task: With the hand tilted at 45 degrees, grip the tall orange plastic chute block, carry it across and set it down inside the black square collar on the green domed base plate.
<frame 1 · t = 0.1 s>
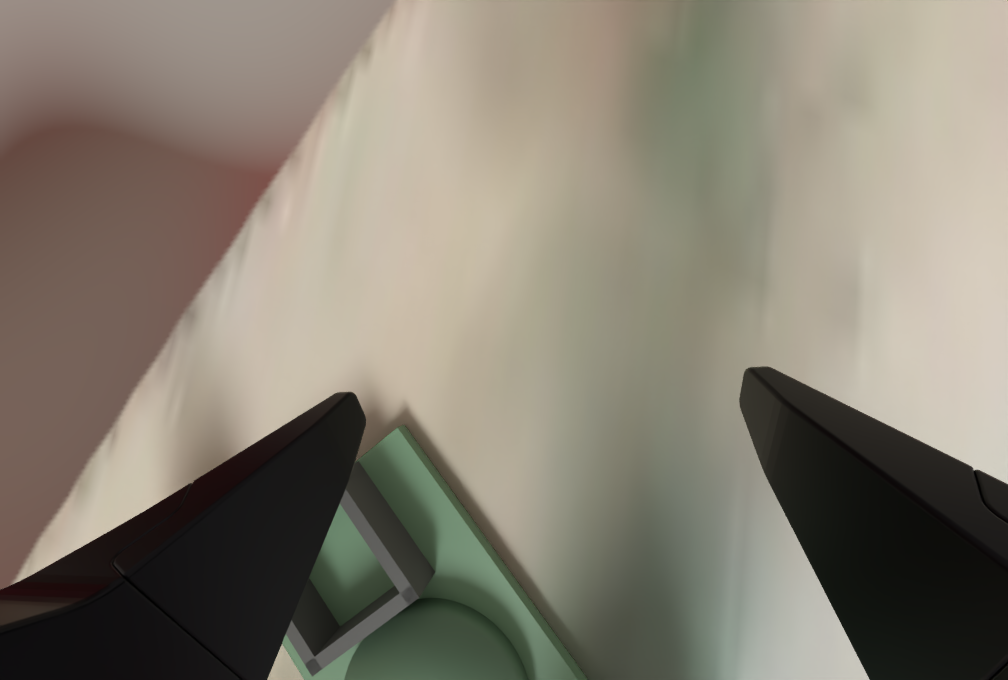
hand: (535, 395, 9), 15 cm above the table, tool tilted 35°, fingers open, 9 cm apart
green domed base plate: (408, 622, 25), on the table
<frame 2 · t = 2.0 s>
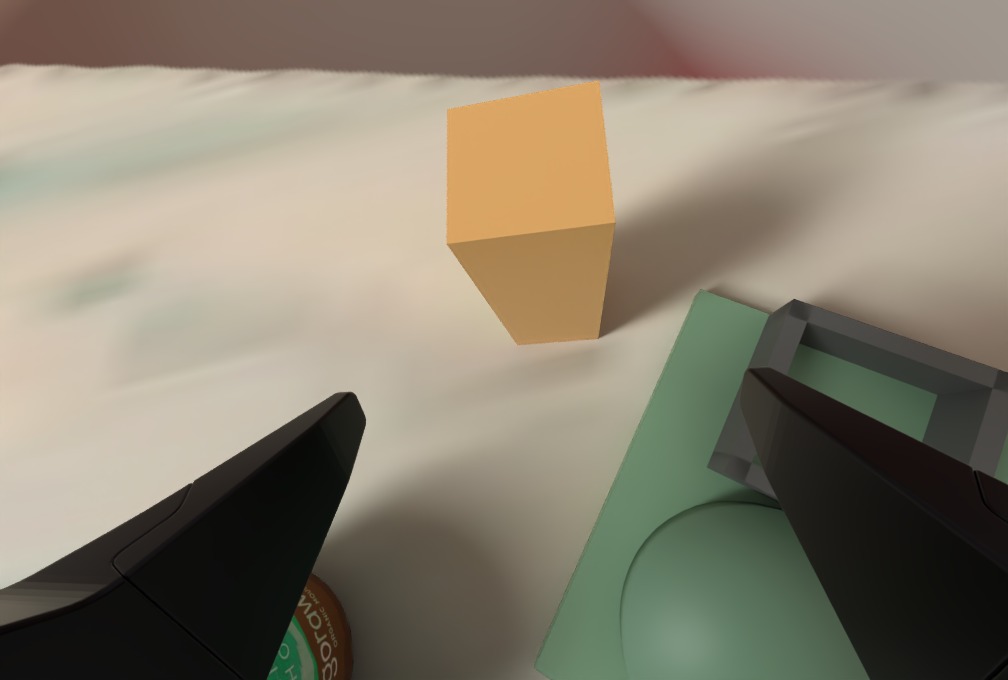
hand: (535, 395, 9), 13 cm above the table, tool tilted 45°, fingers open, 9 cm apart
food container: (313, 620, 22), on the table
green domed base plate: (776, 543, 18), on the table
chute block: (554, 303, 23), on the table
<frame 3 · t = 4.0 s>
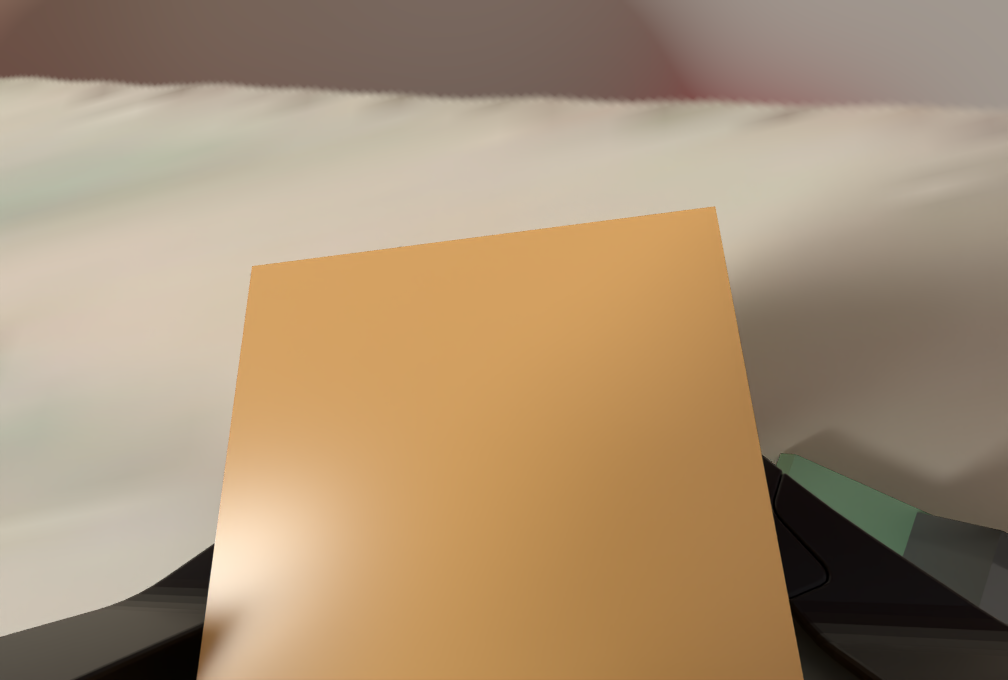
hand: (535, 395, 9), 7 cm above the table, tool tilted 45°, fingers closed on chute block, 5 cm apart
chute block: (556, 449, 15), on the table, touching gripper
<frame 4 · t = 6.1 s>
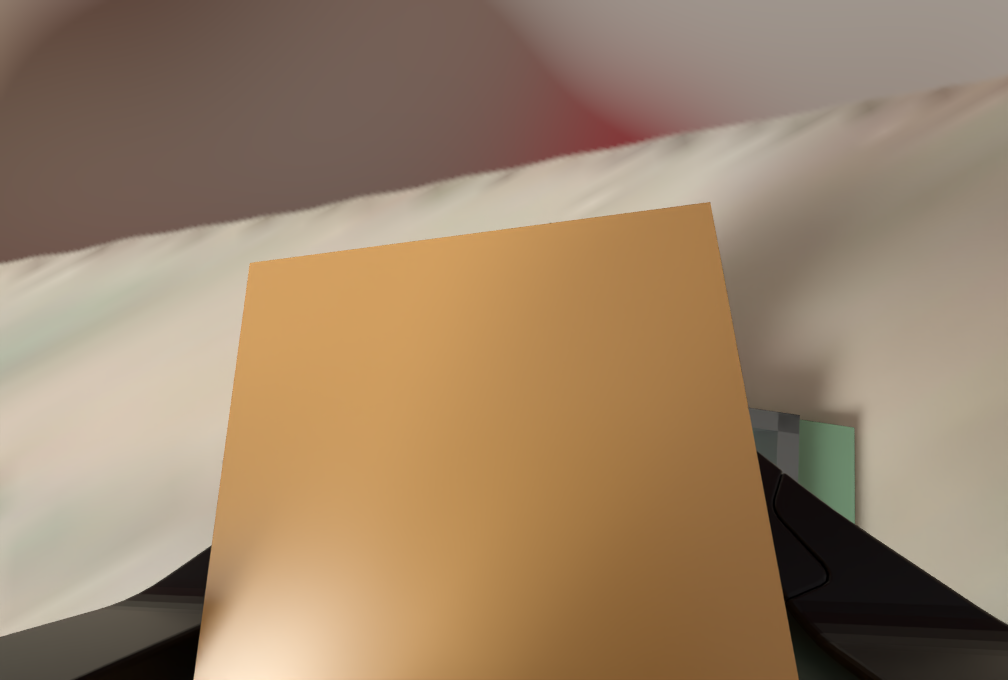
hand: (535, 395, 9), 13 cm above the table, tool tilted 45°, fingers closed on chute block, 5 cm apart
green domed base plate: (660, 610, 19), on the table
chute block: (556, 448, 15), point 7 cm above the table, touching gripper
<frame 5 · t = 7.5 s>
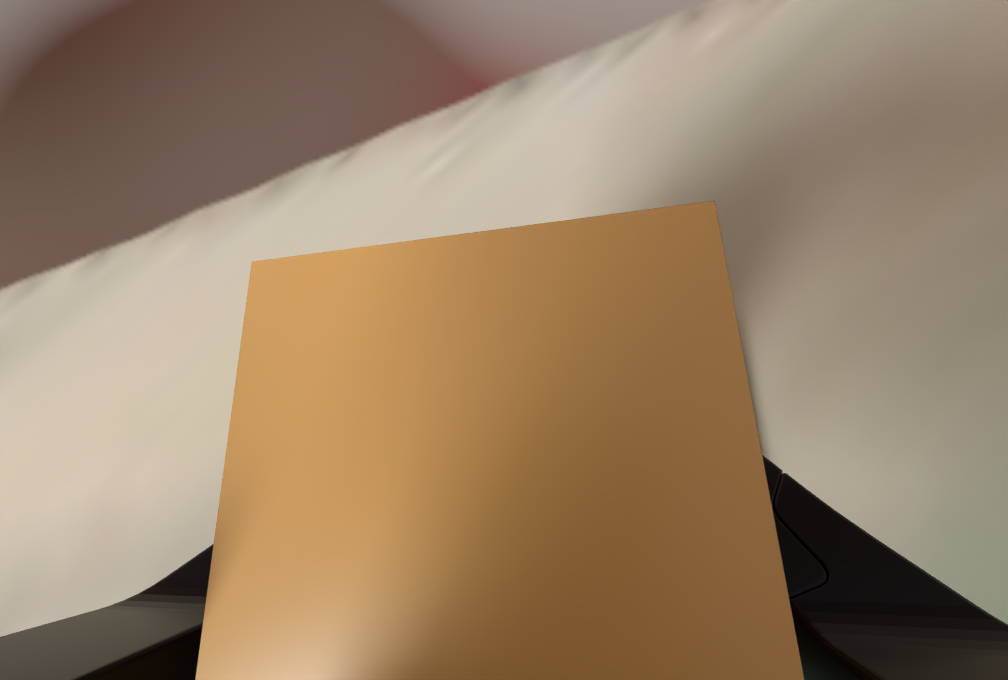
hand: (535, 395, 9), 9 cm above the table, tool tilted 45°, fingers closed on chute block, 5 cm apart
chute block: (556, 448, 15), point 3 cm above the table, touching gripper
when the fingers open (9 cm above the table, at t = 8.4 s): chute block drops 1 cm, resting on green domed base plate.
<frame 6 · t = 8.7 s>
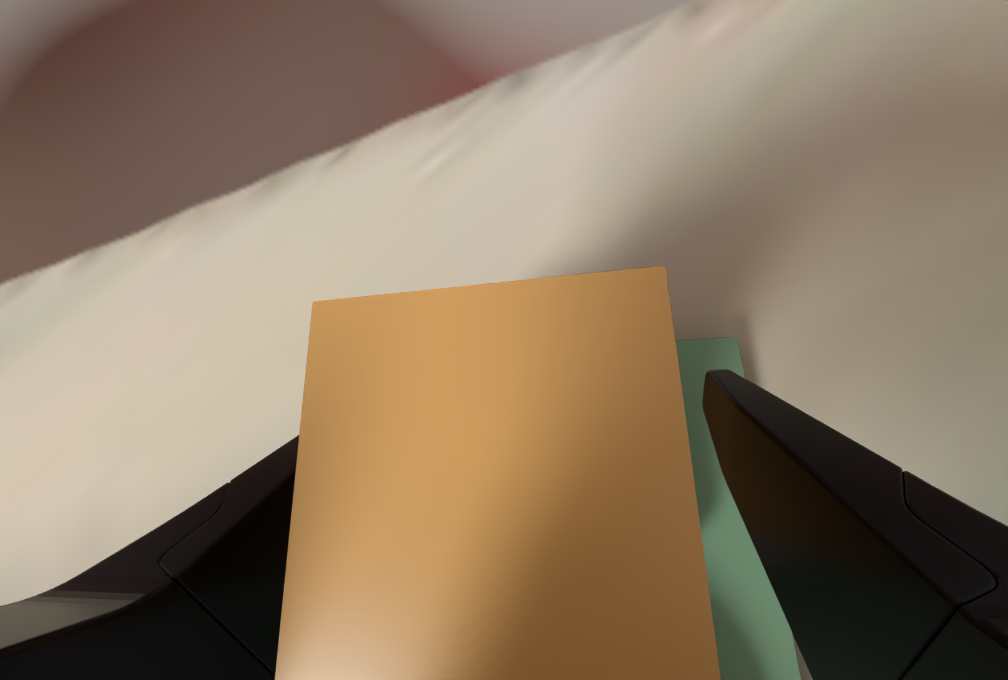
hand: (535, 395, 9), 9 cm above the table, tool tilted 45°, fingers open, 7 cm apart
green domed base plate: (569, 598, 16), on the table
chute block: (557, 448, 16), point 1 cm above the table, touching green domed base plate
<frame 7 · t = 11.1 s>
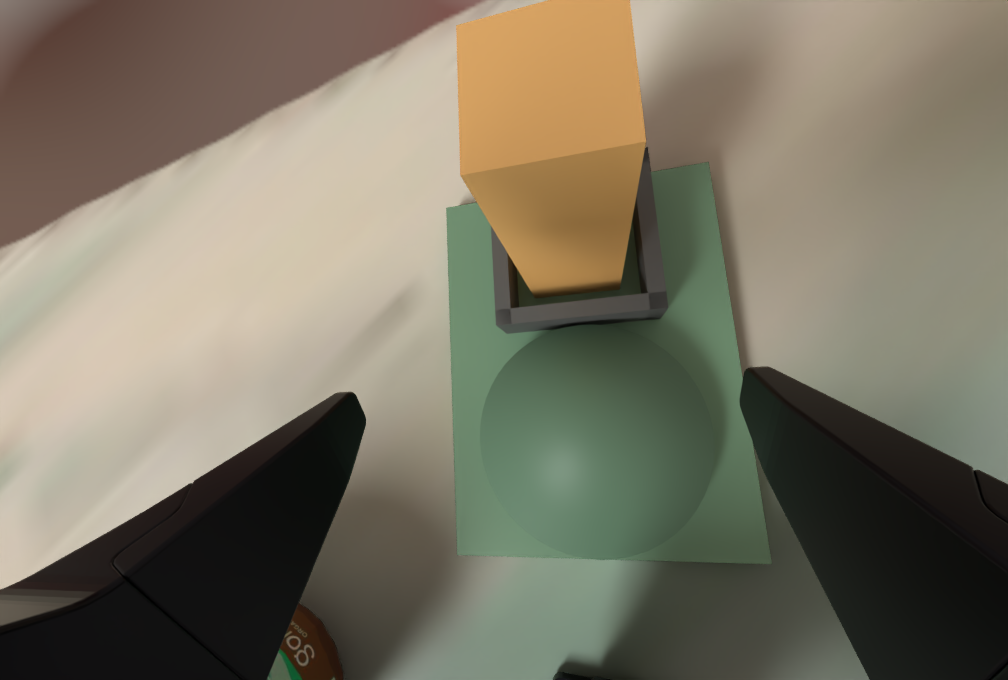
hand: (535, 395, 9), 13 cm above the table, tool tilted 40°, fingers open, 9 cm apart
food container: (291, 633, 24), on the table
green domed base plate: (583, 359, 22), on the table
chute block: (573, 254, 22), point 1 cm above the table, touching green domed base plate
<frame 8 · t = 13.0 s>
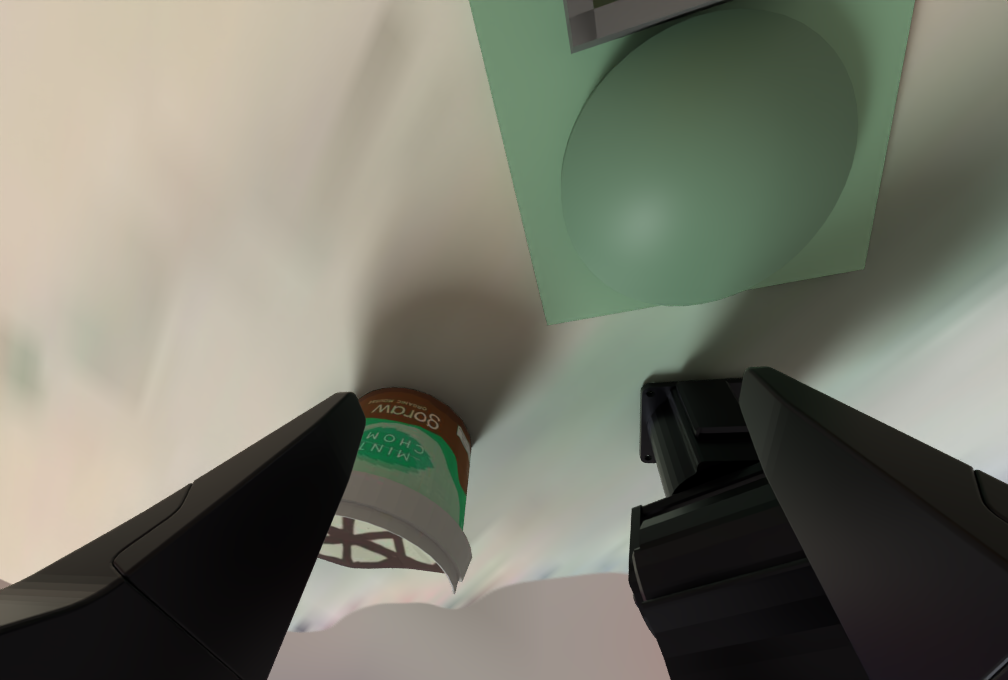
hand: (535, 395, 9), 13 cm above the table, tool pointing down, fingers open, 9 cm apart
food container: (406, 407, 28), on the table
green domed base plate: (677, 72, 16), on the table
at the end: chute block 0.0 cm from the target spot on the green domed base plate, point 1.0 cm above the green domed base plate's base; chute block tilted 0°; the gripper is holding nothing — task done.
